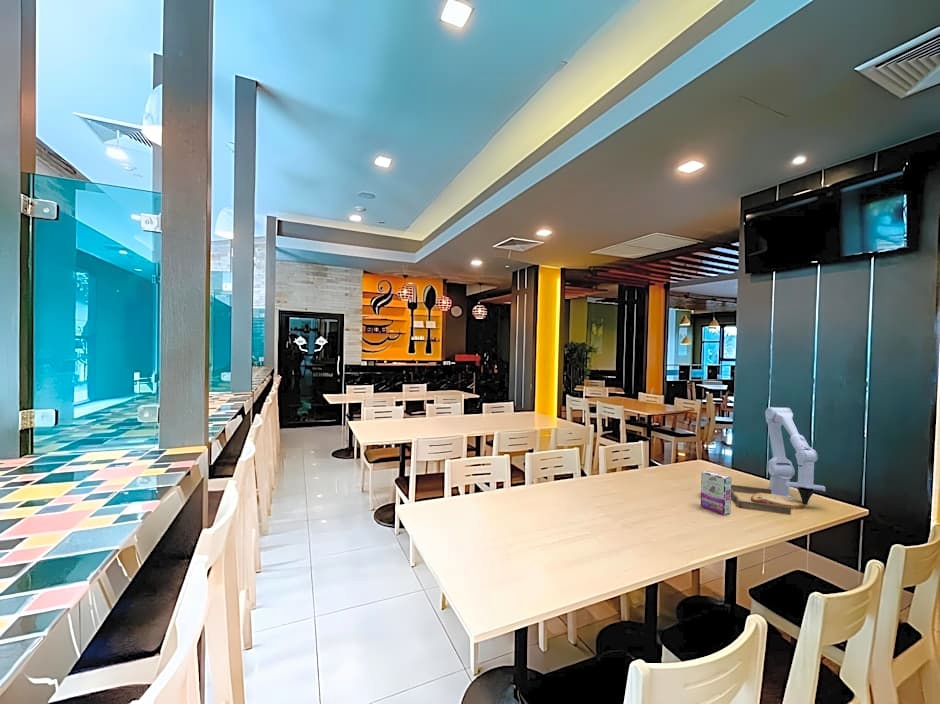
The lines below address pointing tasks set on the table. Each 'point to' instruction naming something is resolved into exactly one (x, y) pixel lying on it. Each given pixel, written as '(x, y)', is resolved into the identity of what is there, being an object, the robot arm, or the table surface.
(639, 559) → the table surface
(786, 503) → the bread slice
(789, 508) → the frame
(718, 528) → the table surface
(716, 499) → the candy bar box
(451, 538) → the table surface
